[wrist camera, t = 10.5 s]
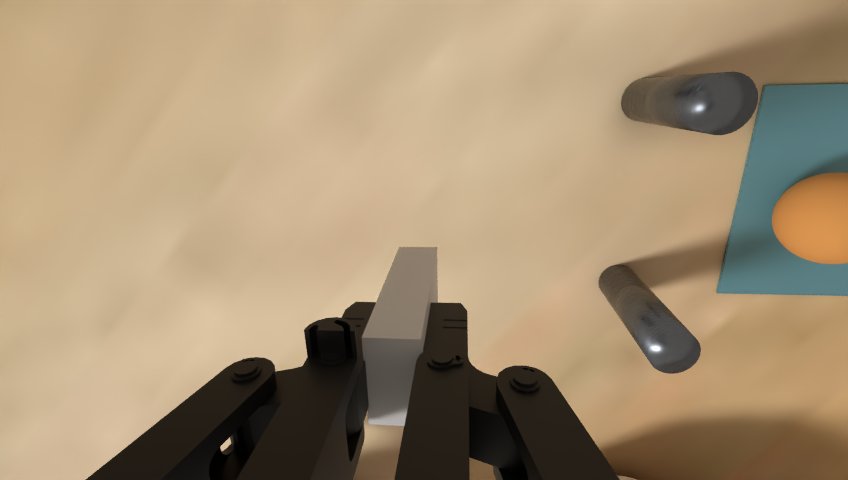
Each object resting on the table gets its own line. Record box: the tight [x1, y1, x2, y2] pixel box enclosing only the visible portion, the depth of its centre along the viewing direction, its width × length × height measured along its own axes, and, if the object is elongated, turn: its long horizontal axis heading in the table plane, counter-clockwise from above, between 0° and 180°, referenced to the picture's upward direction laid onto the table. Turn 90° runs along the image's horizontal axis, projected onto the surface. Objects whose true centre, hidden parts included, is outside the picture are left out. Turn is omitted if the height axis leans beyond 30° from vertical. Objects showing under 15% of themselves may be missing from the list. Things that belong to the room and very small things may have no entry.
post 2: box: [599, 265, 701, 373], centre depth 27 cm, size 3×3×9 cm
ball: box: [772, 172, 848, 264], centre depth 26 cm, size 6×6×6 cm
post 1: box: [621, 72, 758, 135], centre depth 23 cm, size 3×3×9 cm
